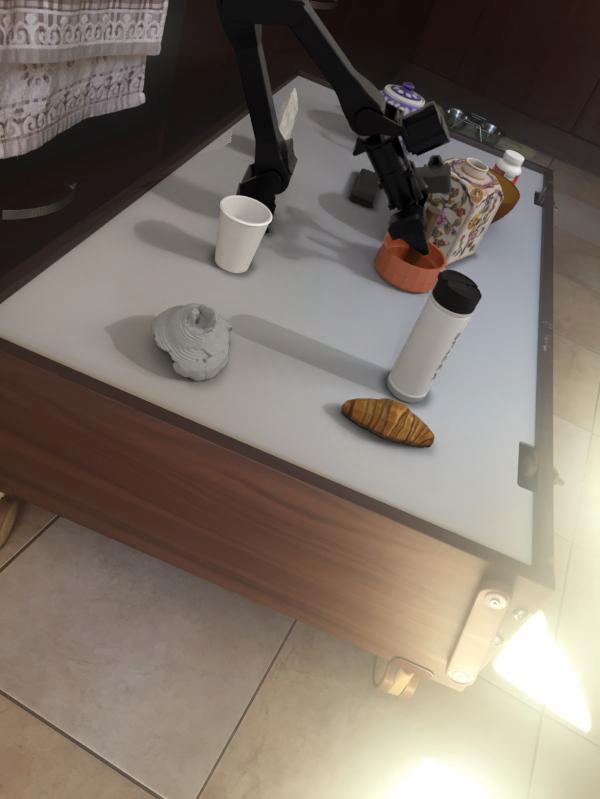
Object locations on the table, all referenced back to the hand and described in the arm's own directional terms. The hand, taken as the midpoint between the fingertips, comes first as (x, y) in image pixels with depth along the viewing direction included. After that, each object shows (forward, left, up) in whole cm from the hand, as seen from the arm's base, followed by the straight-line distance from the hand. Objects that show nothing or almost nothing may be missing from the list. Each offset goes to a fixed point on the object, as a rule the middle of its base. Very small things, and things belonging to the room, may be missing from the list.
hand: (426, 244), depth 129 cm
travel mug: (-11, -31, -7) cm, 33 cm away
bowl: (+21, +25, -7) cm, 34 cm away
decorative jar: (+11, +13, -7) cm, 19 cm away
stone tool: (-19, +38, -7) cm, 44 cm away
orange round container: (-1, 0, -7) cm, 7 cm away
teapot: (+13, +58, -7) cm, 60 cm away
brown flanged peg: (-1, 0, -6) cm, 7 cm away
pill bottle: (+36, +40, -7) cm, 54 cm away
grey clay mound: (-43, -28, -7) cm, 52 cm away
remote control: (0, +31, -7) cm, 32 cm away
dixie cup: (-34, -4, -7) cm, 35 cm away
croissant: (-17, -40, -7) cm, 44 cm away
